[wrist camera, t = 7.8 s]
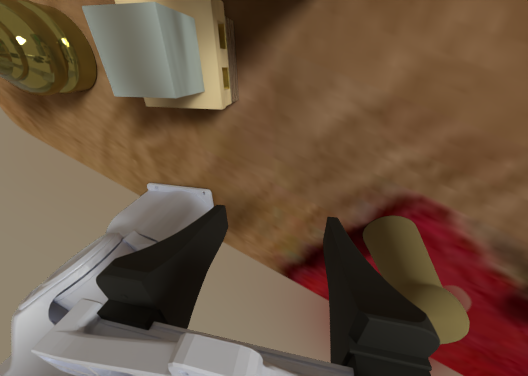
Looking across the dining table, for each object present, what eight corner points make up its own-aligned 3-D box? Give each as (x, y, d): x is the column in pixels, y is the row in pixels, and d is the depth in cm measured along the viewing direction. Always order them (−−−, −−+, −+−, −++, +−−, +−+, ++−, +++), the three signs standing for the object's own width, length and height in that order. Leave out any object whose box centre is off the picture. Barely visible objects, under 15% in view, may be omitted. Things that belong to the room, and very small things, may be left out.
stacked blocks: (162, 102, 19) (106, 116, 14) (138, 5, 15) (47, -27, 10) (231, 104, 18) (198, 120, 13) (223, 0, 14) (172, -39, 9)
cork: (355, 244, 26) (379, 340, 17) (375, 210, 23) (418, 306, 14) (401, 256, 26) (452, 360, 17) (428, 222, 22) (511, 330, 13)
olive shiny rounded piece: (112, 88, 21) (-13, 102, 13) (61, 94, 23) (-80, 110, 15) (71, -3, 18) (-140, -63, 9) (14, 12, 19) (-210, -29, 11)
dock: (174, 97, 21) (162, 100, 19) (158, 24, 17) (141, 19, 16) (238, 99, 19) (231, 103, 18) (233, 21, 16) (224, 15, 14)
